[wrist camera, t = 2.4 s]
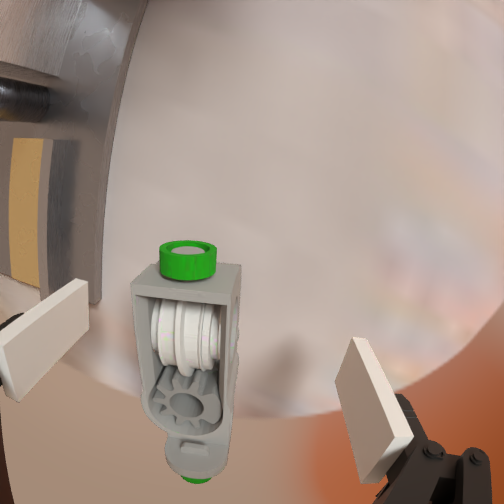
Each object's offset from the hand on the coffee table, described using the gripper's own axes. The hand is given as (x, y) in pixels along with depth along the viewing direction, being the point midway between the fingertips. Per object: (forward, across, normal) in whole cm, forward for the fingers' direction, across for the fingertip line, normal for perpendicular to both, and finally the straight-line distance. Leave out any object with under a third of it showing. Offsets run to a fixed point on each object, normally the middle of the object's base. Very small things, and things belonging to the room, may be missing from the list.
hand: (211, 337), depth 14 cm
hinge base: (+4, -14, +9) cm, 17 cm away
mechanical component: (+5, 0, 0) cm, 5 cm away
